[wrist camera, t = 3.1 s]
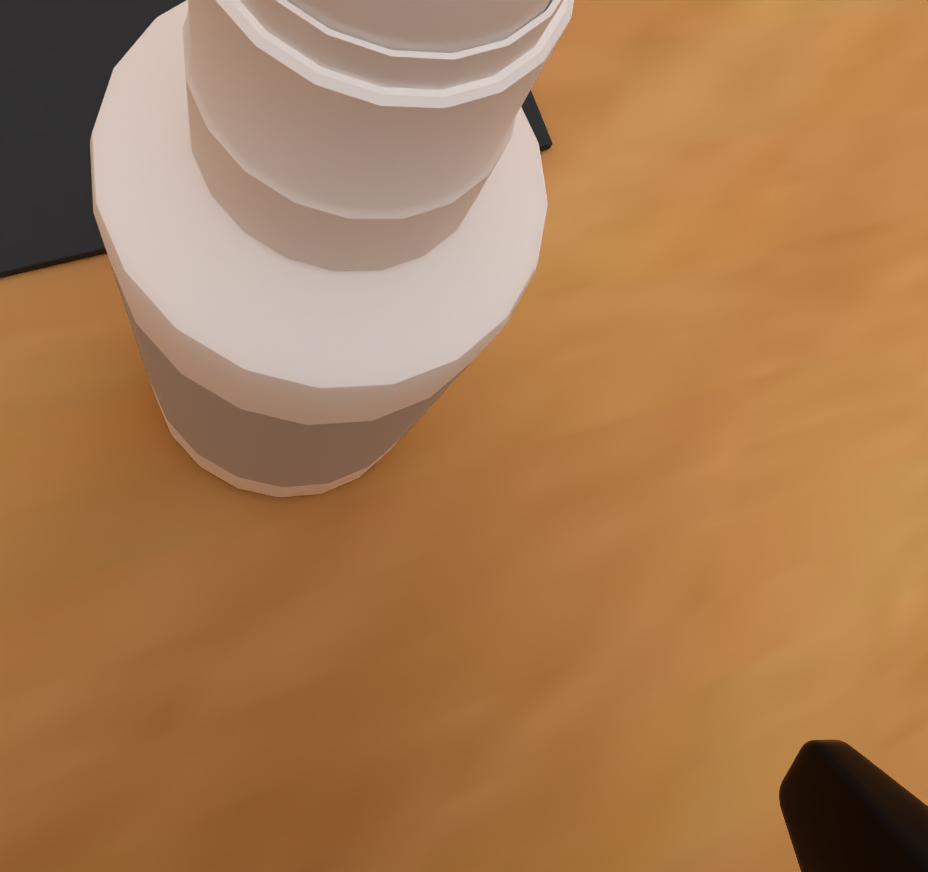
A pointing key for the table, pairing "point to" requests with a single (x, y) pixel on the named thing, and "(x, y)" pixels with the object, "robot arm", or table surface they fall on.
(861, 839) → the robot arm
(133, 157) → the spray bottle
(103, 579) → the table surface
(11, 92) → the pad
